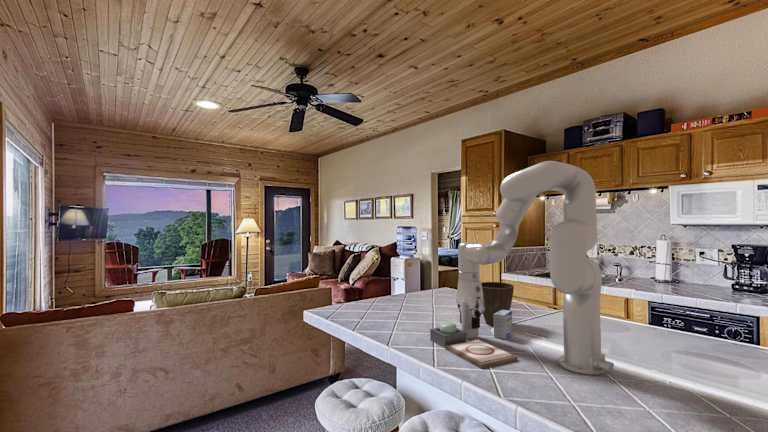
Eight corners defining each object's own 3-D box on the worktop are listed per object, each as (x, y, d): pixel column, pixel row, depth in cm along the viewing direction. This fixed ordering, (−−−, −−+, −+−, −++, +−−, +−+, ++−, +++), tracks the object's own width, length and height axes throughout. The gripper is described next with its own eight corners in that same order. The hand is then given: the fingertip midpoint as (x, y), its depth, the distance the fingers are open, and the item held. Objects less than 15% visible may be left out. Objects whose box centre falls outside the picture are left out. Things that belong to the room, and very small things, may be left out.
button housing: (466, 343, 127) (466, 332, 127) (444, 347, 123) (444, 336, 123) (451, 336, 135) (451, 325, 135) (430, 340, 131) (430, 328, 131)
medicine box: (505, 339, 131) (505, 315, 131) (493, 337, 133) (493, 313, 133) (512, 333, 137) (512, 310, 137) (501, 331, 140) (500, 309, 140)
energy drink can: (476, 334, 137) (475, 294, 137) (480, 339, 131) (480, 297, 131) (460, 334, 137) (459, 294, 137) (464, 340, 130) (463, 298, 131)
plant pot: (486, 317, 161) (485, 280, 161) (520, 322, 151) (519, 283, 151) (470, 324, 149) (469, 285, 149) (506, 331, 140) (505, 289, 140)
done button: (459, 334, 128) (459, 325, 128) (445, 336, 125) (445, 328, 125) (450, 330, 133) (449, 321, 133) (436, 332, 130) (436, 323, 130)
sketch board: (517, 360, 111) (517, 355, 111) (481, 368, 106) (481, 363, 106) (478, 342, 128) (478, 338, 128) (445, 349, 122) (445, 344, 122)
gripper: (493, 278, 128) (494, 330, 127) (462, 272, 143) (463, 318, 143) (476, 280, 124) (477, 333, 124) (446, 274, 140) (447, 321, 140)
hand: (469, 325), depth 134 cm, fingers closed on energy drink can, 6 cm apart
